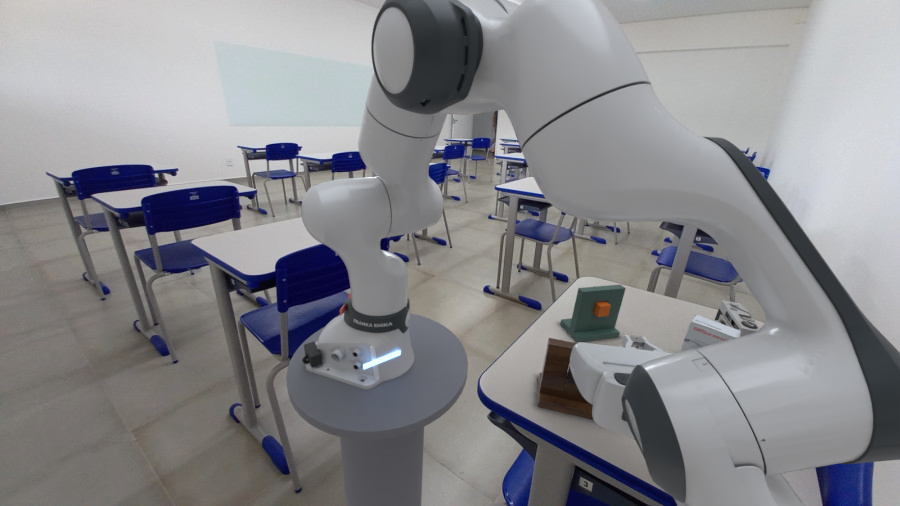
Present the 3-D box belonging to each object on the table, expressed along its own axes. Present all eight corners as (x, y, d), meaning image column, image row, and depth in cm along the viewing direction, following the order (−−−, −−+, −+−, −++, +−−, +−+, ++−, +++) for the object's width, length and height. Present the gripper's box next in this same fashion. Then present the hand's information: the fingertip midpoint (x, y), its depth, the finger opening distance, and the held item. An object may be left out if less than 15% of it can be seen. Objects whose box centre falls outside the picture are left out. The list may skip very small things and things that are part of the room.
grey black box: (693, 327, 96) (705, 294, 92) (728, 334, 93) (742, 301, 89) (708, 357, 84) (722, 322, 80) (749, 367, 81) (766, 331, 77)
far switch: (608, 316, 86) (611, 305, 85) (597, 317, 85) (600, 306, 84) (600, 309, 89) (603, 299, 88) (590, 310, 88) (592, 300, 87)
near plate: (604, 422, 64) (621, 365, 59) (537, 406, 67) (548, 350, 62) (598, 390, 72) (613, 337, 67) (538, 377, 74) (548, 325, 69)
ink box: (723, 374, 78) (743, 329, 74) (719, 385, 75) (739, 339, 71) (679, 355, 84) (695, 312, 79) (674, 364, 80) (690, 320, 76)
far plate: (618, 337, 89) (631, 292, 84) (577, 342, 86) (588, 296, 81) (598, 319, 96) (609, 277, 92) (560, 324, 93) (569, 280, 88)
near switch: (585, 387, 63) (589, 373, 62) (568, 383, 64) (571, 370, 63) (584, 375, 66) (587, 363, 65) (567, 372, 66) (570, 359, 65)
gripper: (791, 404, 37) (714, 329, 50) (592, 378, 39) (567, 313, 51) (767, 447, 39) (699, 366, 52) (580, 421, 41) (559, 348, 54)
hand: (632, 339), depth 52 cm, fingers closed
